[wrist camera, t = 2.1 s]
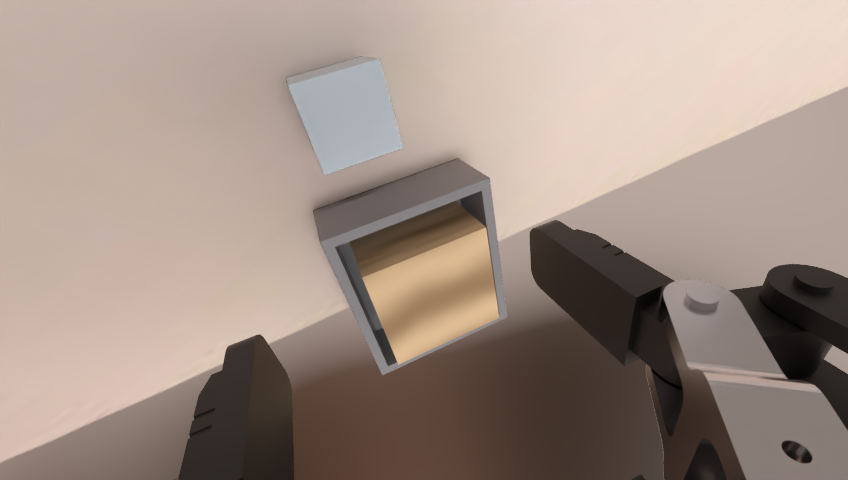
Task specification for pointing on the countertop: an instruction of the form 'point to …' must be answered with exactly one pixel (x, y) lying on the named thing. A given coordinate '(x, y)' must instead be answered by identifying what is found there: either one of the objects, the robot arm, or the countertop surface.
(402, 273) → the oak block
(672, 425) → the robot arm
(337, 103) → the light blue cube
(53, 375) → the countertop surface
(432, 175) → the tote
